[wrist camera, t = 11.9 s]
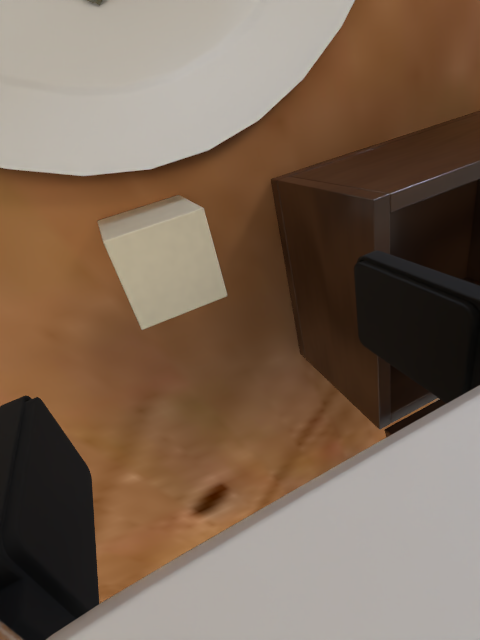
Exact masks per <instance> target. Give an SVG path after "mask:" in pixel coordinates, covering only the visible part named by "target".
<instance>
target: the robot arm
mask: <svg viewBox="0 0 480 640" xmlns="http://www.w3.org/2000/svg"><path fill="white" fill-rule="evenodd" d="M354 280H355V295H356V310H357V325H358V337H359V340H360V342H361V343H362V345H363V346H364V347H366V348H367V349H369V350H370V351H372V352H373V353H374V354H376V355H377V356H379V357H380V358H382V359H383V360H385V361H386V362H387V363H389V364H390V365H392V366H393V367H395V368H396V369H397V370H399V371H400V372H402V373H403V374H405V375H406V376H408V377H409V378H410V379H412V380H413V381H415V382H416V383H418V384H419V385H421V386H422V387H423V388H425V389H426V390H428V391H429V392H431V393H432V394H434V395H435V396H436V397H438V398H439V399H441V400H442V401H444V402H445V403H447V404H445V405H443V406H442V407H440V408H438V409H436V410H434V411H433V412H431V413H429V414H427V415H426V416H424V417H422V418H420V419H418V420H417V421H415V422H413V423H411V424H410V425H408V426H406V427H404V428H402V429H401V430H399V431H397V432H395V433H394V434H392V435H390V436H388V437H387V438H385V439H383V440H381V441H380V442H378V443H376V444H374V445H373V446H371V447H369V448H367V449H365V450H364V451H362V452H360V453H358V454H357V455H355V456H353V457H351V458H350V459H348V460H346V461H344V462H343V463H341V464H339V465H337V466H336V467H334V468H332V469H330V470H329V471H327V472H325V473H323V474H322V475H320V476H318V477H316V478H315V479H313V480H311V481H309V482H308V483H306V484H304V485H302V486H301V487H299V488H297V489H295V490H293V491H292V492H290V493H288V494H287V495H285V496H283V497H281V498H280V499H278V500H276V501H274V502H273V503H271V504H269V505H267V506H266V507H264V508H262V509H261V510H259V511H257V512H255V513H254V514H252V515H250V516H248V517H247V518H245V519H243V520H241V521H240V522H238V523H236V524H234V525H233V526H231V527H229V528H228V529H226V530H224V531H222V532H221V533H219V534H217V535H215V536H214V537H212V538H210V539H208V540H207V541H205V542H203V543H201V544H200V545H198V546H196V547H195V548H193V549H191V550H189V551H188V552H186V553H184V554H182V555H181V556H179V557H177V558H176V559H174V560H172V561H171V562H169V563H167V564H166V565H164V566H162V567H161V568H159V569H157V570H156V571H154V572H152V573H151V574H149V575H147V576H146V577H144V578H142V579H140V580H139V581H137V582H135V583H134V584H132V585H130V586H129V587H127V588H125V589H124V590H122V591H120V592H119V593H117V594H115V595H114V596H112V597H110V598H109V599H107V600H105V601H104V602H102V603H100V604H99V593H98V576H97V560H96V543H95V527H94V510H93V494H92V479H91V474H90V471H89V468H88V466H87V465H86V463H85V462H84V460H83V459H82V457H81V456H80V455H79V453H78V452H77V450H76V449H75V447H74V446H73V445H72V443H71V442H70V440H69V439H68V437H67V436H66V435H65V433H64V432H63V430H62V429H61V427H60V426H59V424H58V423H57V422H56V420H55V419H54V417H53V416H52V414H51V413H50V412H49V410H48V409H47V407H46V406H45V404H44V403H43V402H42V400H41V399H40V398H38V397H36V398H34V399H31V398H30V397H29V396H23V397H21V398H19V399H16V400H14V401H11V402H9V403H6V404H4V405H2V406H0V640H480V286H479V285H476V284H473V283H470V282H468V281H465V280H462V279H459V278H456V277H453V276H450V275H448V274H445V273H442V272H439V271H436V270H433V269H430V268H427V267H425V266H422V265H419V264H416V263H413V262H410V261H407V260H404V259H402V258H399V257H396V256H393V255H390V254H387V253H384V252H382V251H377V250H376V251H373V252H371V253H368V254H366V255H364V256H361V257H359V258H358V260H357V263H356V264H355V266H354Z"/></svg>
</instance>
